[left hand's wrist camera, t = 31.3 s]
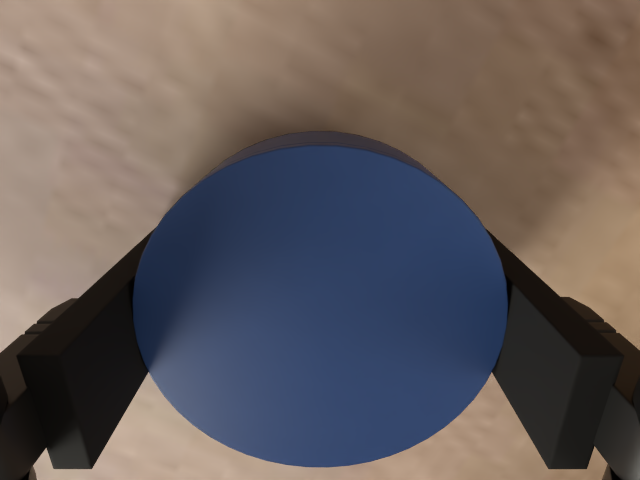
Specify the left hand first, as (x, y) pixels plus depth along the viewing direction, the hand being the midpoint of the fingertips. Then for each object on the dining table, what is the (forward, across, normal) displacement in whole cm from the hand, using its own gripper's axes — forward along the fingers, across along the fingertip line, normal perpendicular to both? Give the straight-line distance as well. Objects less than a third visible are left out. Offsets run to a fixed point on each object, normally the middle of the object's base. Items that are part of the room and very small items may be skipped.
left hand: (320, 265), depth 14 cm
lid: (-4, 0, 0) cm, 4 cm away
